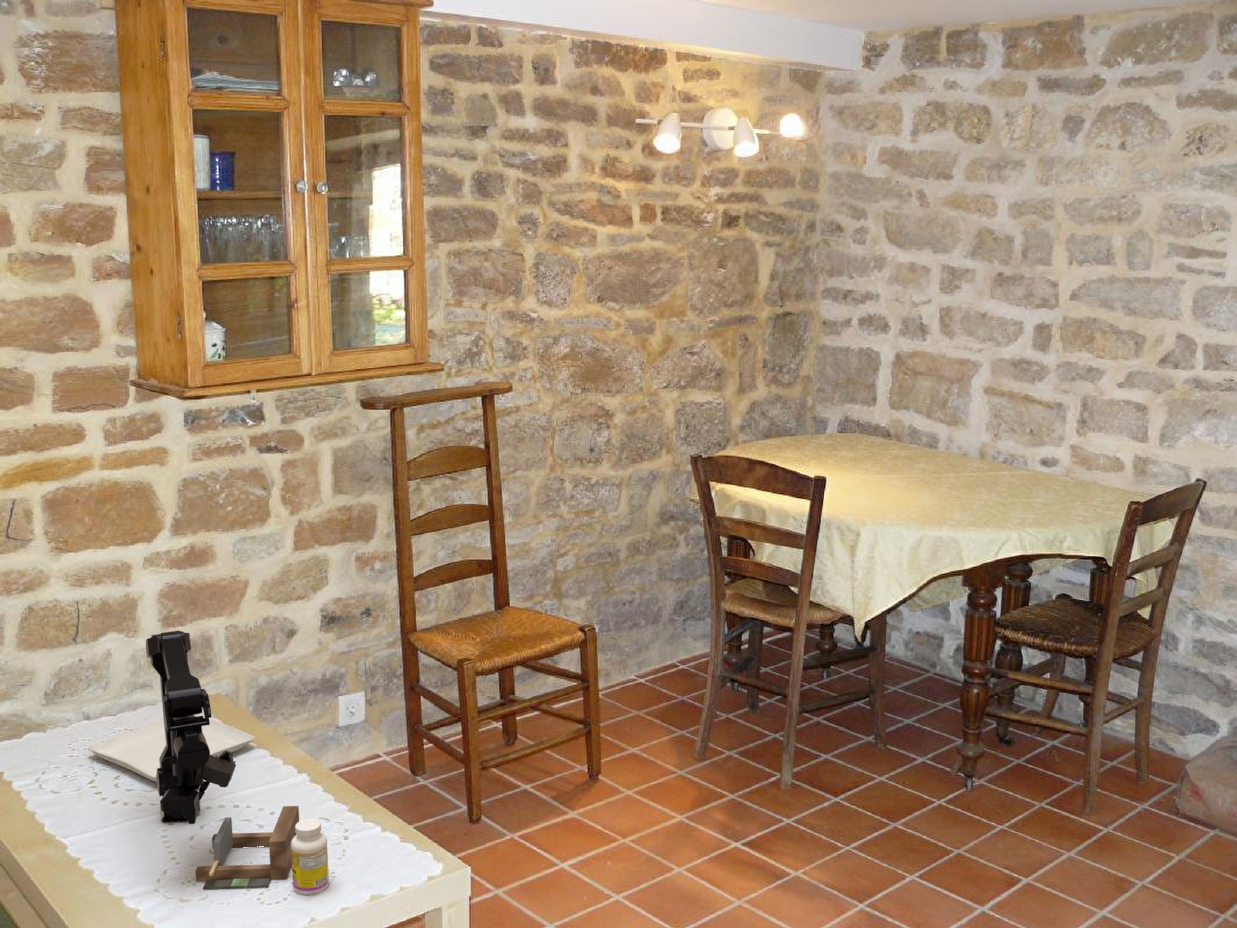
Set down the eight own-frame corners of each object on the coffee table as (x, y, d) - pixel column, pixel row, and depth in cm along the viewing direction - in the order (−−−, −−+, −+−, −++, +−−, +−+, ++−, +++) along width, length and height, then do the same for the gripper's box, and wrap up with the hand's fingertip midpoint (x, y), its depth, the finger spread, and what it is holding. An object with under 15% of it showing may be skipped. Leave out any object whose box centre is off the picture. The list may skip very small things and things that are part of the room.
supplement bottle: (296, 878, 237) (293, 816, 234) (331, 876, 237) (328, 815, 235) (290, 896, 230) (286, 833, 227) (326, 895, 231) (323, 832, 228)
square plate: (187, 722, 309) (186, 708, 308) (258, 750, 293) (257, 735, 292) (87, 760, 287) (85, 744, 286) (157, 792, 272) (156, 776, 271)
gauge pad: (208, 884, 232) (206, 855, 231) (226, 845, 247) (225, 817, 245) (214, 884, 232) (212, 855, 231) (233, 844, 247) (231, 817, 245)
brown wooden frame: (192, 890, 232) (189, 851, 230) (214, 844, 249) (212, 808, 247) (284, 887, 233) (282, 848, 232) (300, 842, 250) (298, 805, 248)
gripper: (218, 768, 228) (223, 846, 231) (241, 727, 247) (245, 799, 250) (156, 770, 227) (162, 847, 231) (184, 728, 246) (188, 800, 249)
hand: (192, 823), depth 240 cm, fingers closed
